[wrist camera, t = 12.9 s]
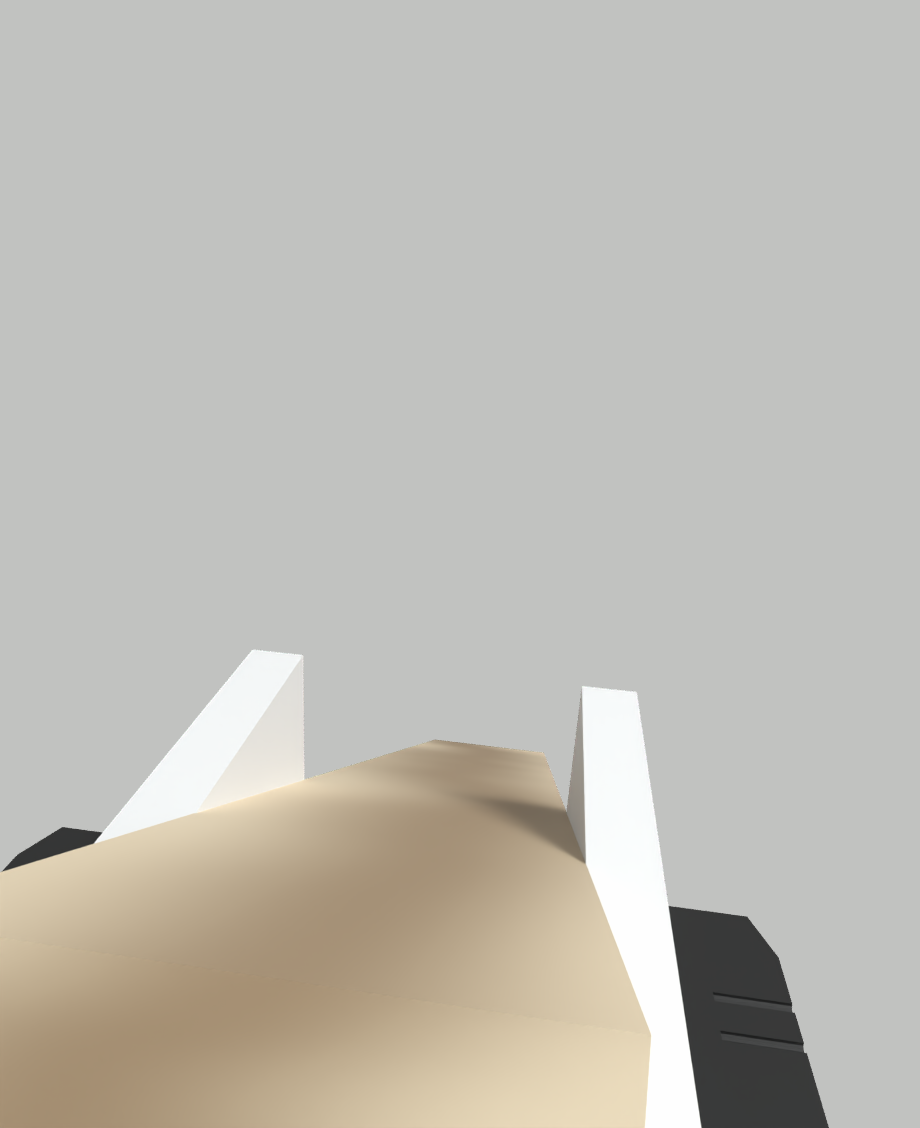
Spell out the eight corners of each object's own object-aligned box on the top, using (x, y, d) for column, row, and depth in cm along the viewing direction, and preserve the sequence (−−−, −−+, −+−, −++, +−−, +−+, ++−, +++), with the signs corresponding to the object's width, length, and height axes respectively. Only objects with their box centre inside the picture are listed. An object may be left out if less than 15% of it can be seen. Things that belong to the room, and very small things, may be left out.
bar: (-356, 1886, 4) (-145, 917, 4) (421, 852, 30) (434, 739, 31) (574, 2150, 3) (651, 1035, 4) (532, 867, 30) (543, 752, 30)
